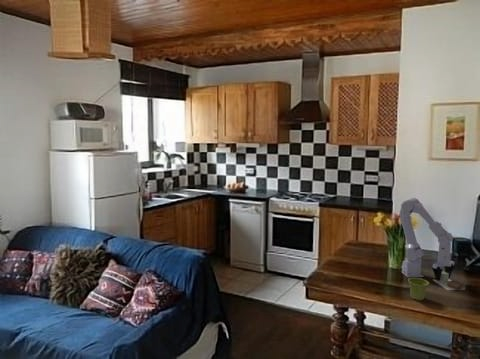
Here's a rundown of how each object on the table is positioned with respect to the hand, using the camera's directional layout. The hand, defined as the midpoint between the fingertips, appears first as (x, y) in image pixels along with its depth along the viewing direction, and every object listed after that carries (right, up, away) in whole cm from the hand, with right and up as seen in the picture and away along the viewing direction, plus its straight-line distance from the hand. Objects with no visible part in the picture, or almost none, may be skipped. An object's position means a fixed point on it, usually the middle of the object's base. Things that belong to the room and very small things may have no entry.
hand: (442, 279), depth 217 cm
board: (+1, -3, -4) cm, 5 cm away
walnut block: (+4, -2, -7) cm, 8 cm away
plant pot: (-22, -5, -19) cm, 30 cm away
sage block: (0, -1, 0) cm, 1 cm away
